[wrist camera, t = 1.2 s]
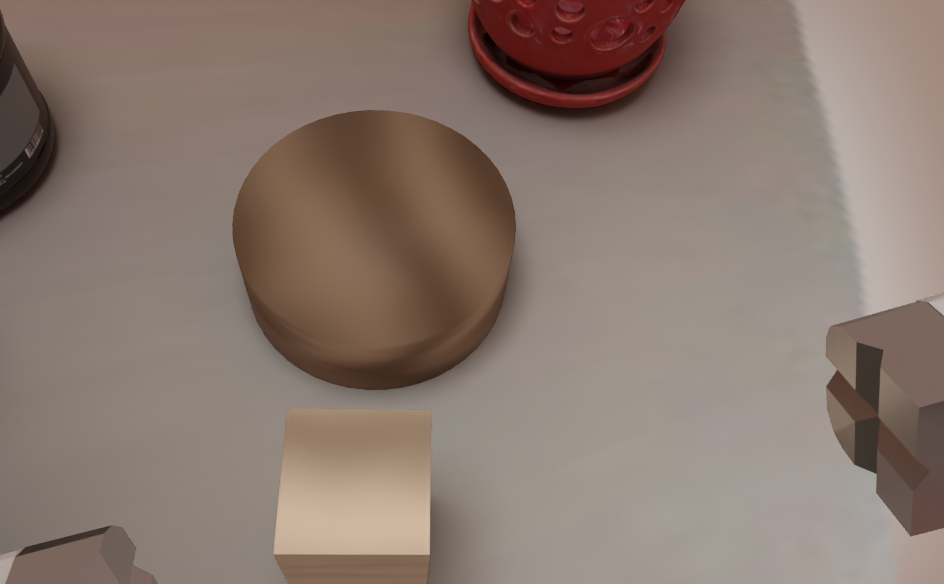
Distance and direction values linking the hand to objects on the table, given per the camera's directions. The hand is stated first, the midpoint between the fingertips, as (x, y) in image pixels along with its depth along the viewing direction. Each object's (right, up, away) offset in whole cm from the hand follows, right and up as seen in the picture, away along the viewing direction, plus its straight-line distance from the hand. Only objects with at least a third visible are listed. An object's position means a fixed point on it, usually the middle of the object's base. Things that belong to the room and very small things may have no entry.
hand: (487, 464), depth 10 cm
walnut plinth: (-5, +3, +36) cm, 36 cm away
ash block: (-5, -9, +29) cm, 31 cm away
